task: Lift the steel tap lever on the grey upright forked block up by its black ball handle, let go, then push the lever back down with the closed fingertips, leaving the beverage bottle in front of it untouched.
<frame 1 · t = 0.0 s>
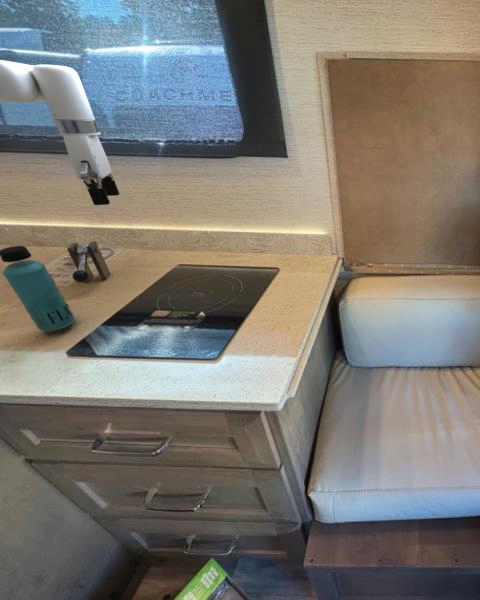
hand: (107, 199, 88), 23 cm above the worktop, tool pointing down, fingers open, 9 cm apart
beverage bottle: (60, 329, 77), on the worktop
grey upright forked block: (100, 283, 95), on the worktop
tap lever: (82, 263, 88), point 8 cm above the worktop, hinge at -25.0°
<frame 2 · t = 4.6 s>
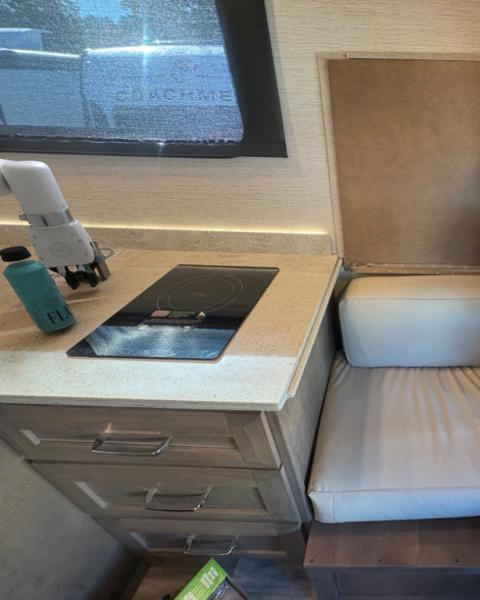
hand: (85, 285, 87), 3 cm above the worktop, tool pointing down, fingers closed on tap lever, 3 cm apart
tap lever: (82, 263, 88), point 8 cm above the worktop, hinge at -25.0°, touching gripper
everything else where it was.
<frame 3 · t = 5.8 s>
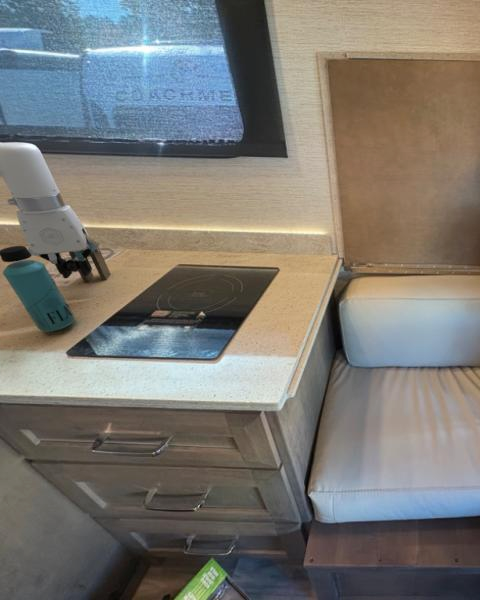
hand: (78, 274, 84), 7 cm above the worktop, tool pointing down, fingers closed on tap lever, 3 cm apart
tap lever: (79, 258, 86), point 10 cm above the worktop, hinge at -1.8°, touching gripper
everything else where it was.
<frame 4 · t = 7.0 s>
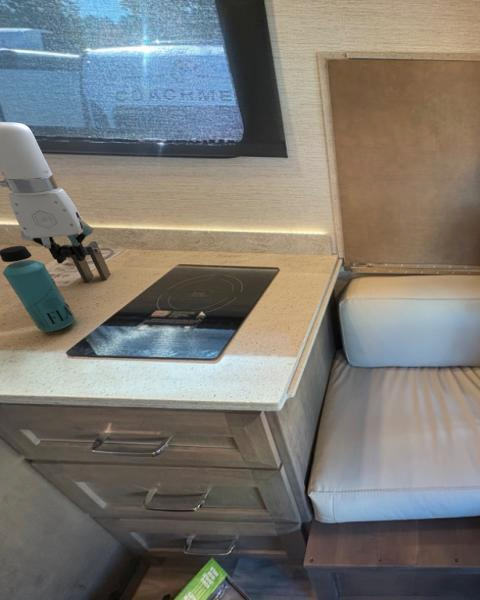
hand: (72, 259, 83), 11 cm above the worktop, tool pointing down, fingers closed on tap lever, 3 cm apart
tap lever: (76, 251, 86), point 12 cm above the worktop, hinge at 21.4°, touching gripper
everything else where it was.
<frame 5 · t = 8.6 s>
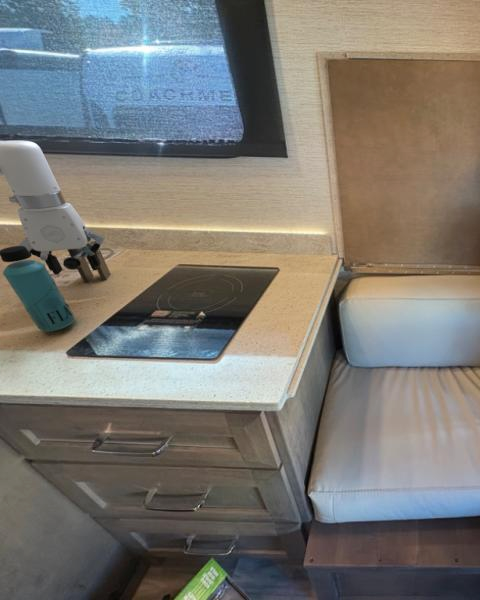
hand: (77, 269, 85), 8 cm above the worktop, tool pointing down, fingers open, 7 cm apart
tap lever: (78, 257, 86), point 10 cm above the worktop, hinge at 1.6°
everything else where it was.
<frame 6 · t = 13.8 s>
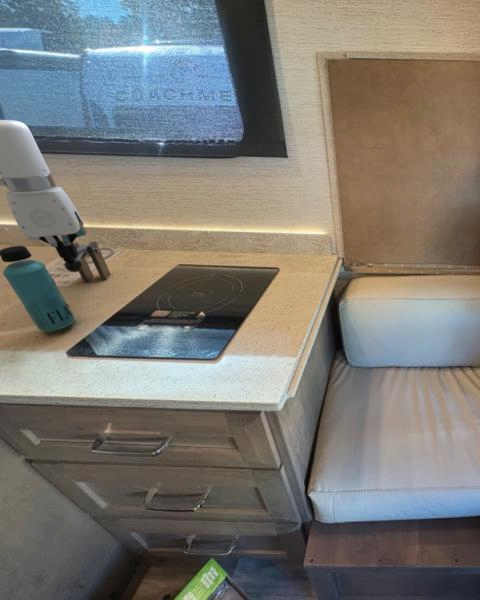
hand: (71, 259, 82), 11 cm above the worktop, tool pointing down, fingers closed
tap lever: (79, 258, 86), point 10 cm above the worktop, hinge at -2.4°, touching gripper
everything else where it was.
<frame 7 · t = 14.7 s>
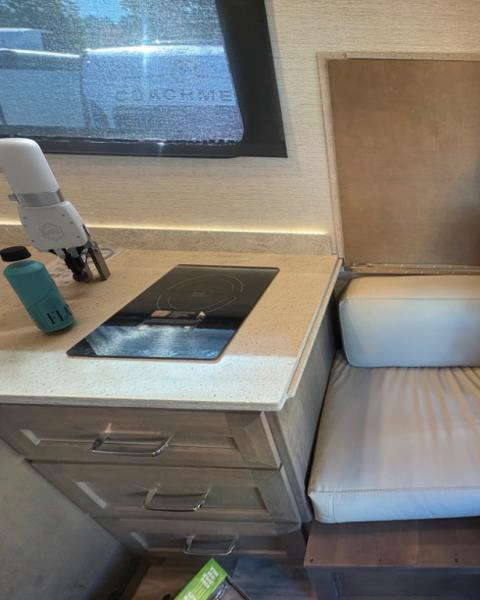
hand: (79, 270, 85), 8 cm above the worktop, tool pointing down, fingers closed
tap lever: (82, 263, 88), point 8 cm above the worktop, hinge at -25.1°, touching gripper
everything else where it was.
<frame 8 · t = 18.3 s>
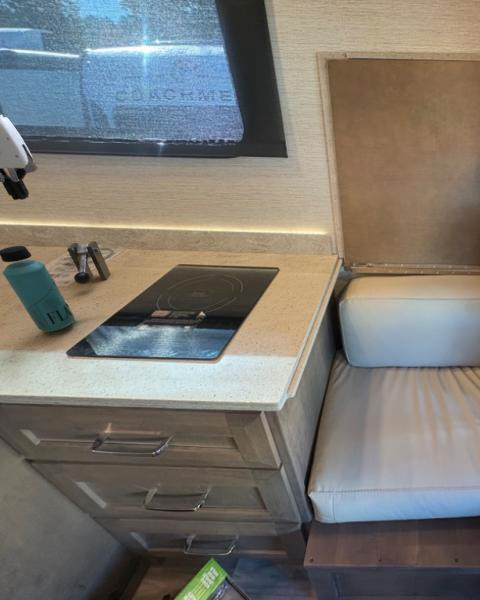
hand: (21, 198, 78), 25 cm above the worktop, tool pointing down, fingers closed
tap lever: (83, 264, 88), point 8 cm above the worktop, hinge at -29.9°
everything else where it was.
at the end: tap lever reached +23° during the clip, -30° at the end; tap lever at -30° (first picture: -25°); beverage bottle moved 0.2 cm from its start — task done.
